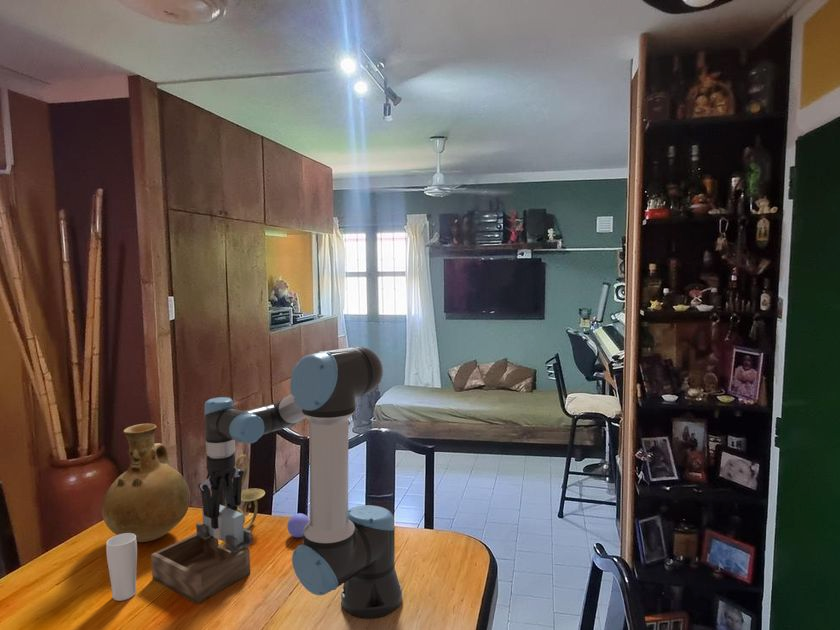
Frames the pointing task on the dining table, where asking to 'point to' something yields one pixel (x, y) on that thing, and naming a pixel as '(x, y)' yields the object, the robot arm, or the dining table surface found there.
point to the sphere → (297, 524)
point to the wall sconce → (248, 494)
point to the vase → (146, 490)
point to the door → (227, 524)
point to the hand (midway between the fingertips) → (223, 535)
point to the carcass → (202, 564)
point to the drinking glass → (122, 565)
